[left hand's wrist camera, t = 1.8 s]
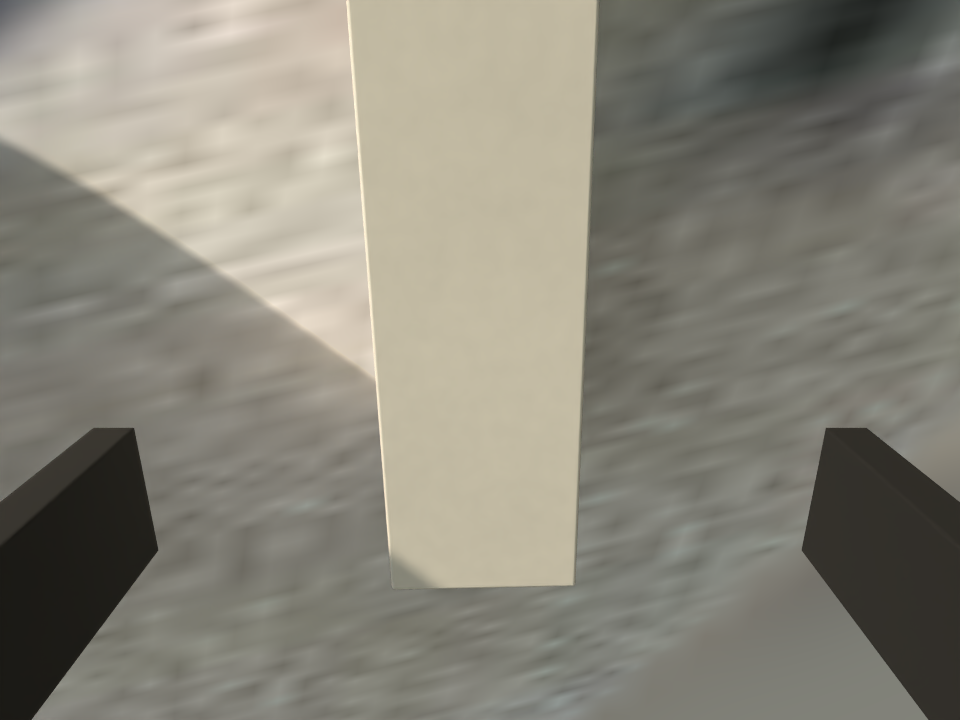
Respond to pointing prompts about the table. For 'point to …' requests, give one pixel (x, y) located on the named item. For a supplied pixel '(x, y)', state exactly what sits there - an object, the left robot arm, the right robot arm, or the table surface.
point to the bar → (477, 278)
